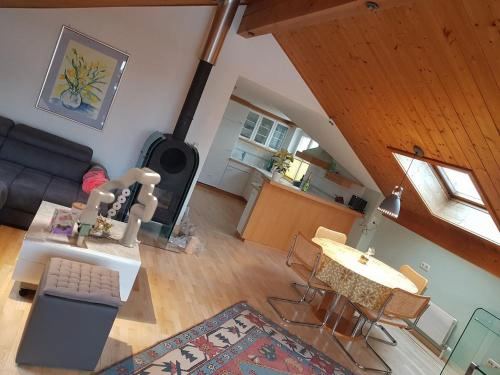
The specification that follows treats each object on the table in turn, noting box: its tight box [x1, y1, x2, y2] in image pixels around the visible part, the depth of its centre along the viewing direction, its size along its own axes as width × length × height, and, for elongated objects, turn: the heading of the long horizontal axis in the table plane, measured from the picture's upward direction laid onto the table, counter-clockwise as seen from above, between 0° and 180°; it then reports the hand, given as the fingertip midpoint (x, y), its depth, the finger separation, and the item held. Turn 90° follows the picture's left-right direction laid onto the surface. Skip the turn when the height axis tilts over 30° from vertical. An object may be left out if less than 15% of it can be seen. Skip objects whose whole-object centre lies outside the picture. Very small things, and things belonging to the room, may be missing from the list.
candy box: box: [47, 207, 78, 236], centre depth 263 cm, size 14×6×16 cm, turn 131°
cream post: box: [76, 234, 85, 246], centre depth 256 cm, size 3×3×7 cm
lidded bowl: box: [70, 202, 86, 218], centre depth 305 cm, size 13×13×11 cm
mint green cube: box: [79, 224, 91, 236], centre depth 255 cm, size 5×5×7 cm
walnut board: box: [66, 231, 89, 249], centre depth 260 cm, size 11×18×5 cm, turn 35°
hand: (82, 232), depth 255 cm, fingers closed on mint green cube, 5 cm apart
